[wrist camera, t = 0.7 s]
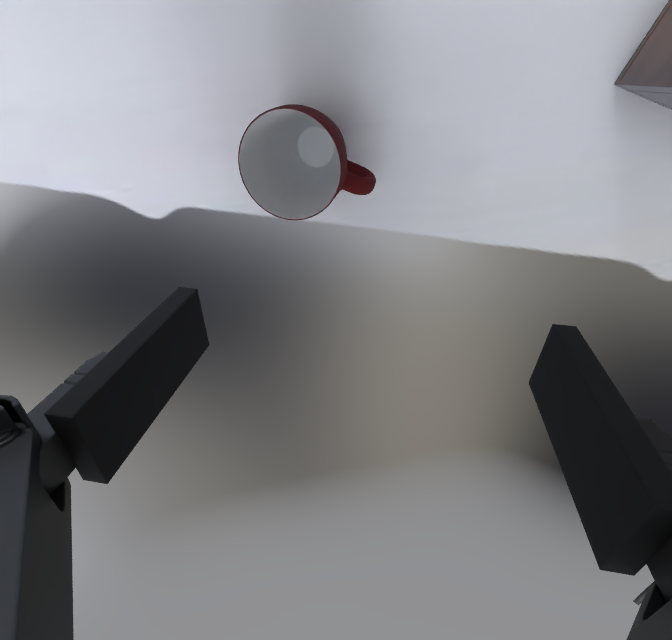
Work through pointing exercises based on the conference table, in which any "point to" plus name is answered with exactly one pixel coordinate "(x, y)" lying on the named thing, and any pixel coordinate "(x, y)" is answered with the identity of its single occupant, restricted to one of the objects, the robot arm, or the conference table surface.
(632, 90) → the open wooden box
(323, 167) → the mug
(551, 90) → the conference table surface
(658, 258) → the conference table surface
